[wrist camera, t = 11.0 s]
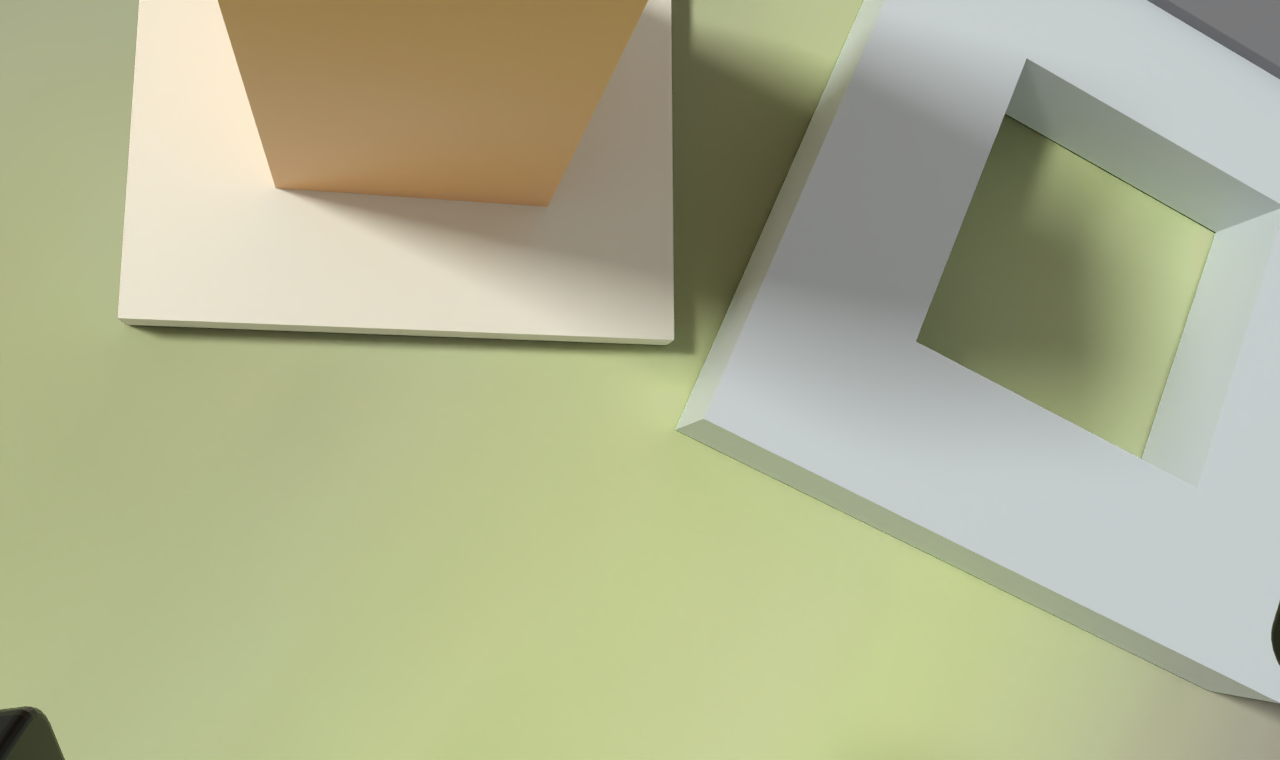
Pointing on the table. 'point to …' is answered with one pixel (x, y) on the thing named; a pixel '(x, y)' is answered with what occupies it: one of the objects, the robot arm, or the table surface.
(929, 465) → the dock
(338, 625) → the table surface
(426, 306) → the pad
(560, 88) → the module
